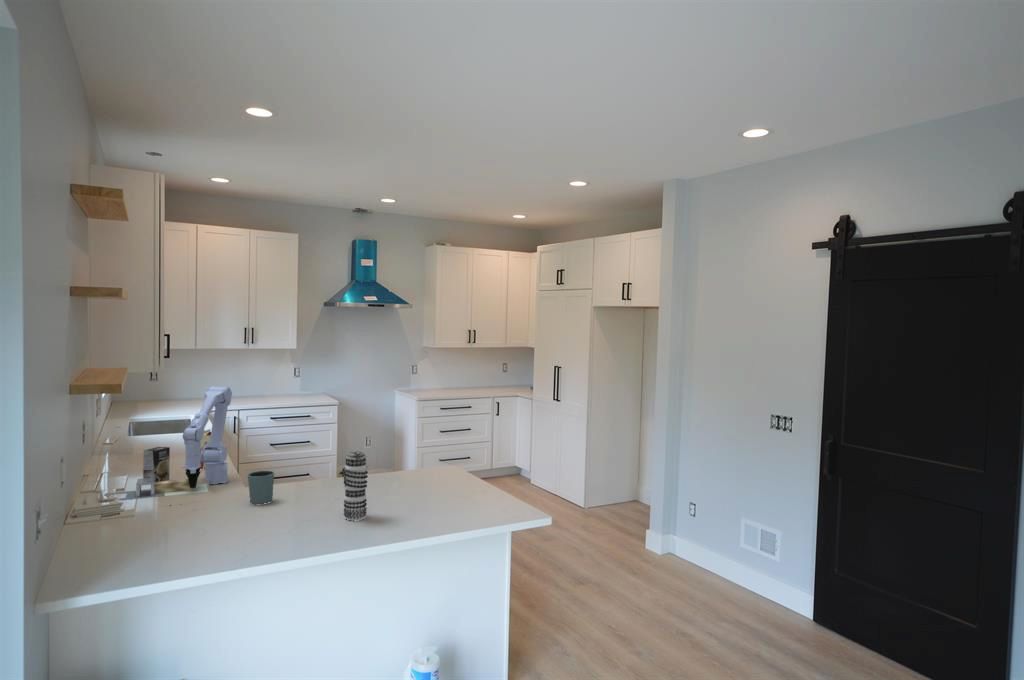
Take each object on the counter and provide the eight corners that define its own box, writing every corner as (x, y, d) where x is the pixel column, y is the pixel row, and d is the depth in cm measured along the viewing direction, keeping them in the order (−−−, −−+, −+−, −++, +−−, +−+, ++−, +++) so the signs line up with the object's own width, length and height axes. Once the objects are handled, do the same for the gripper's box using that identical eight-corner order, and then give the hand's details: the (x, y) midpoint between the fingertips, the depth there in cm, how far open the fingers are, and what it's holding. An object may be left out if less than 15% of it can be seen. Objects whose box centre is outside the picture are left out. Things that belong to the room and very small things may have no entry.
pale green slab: (206, 487, 273) (206, 483, 273) (207, 495, 260) (207, 491, 260) (105, 496, 255) (105, 493, 255) (100, 506, 242) (100, 502, 242)
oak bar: (193, 487, 266) (193, 478, 266) (193, 490, 262) (193, 480, 262) (153, 491, 259) (153, 482, 259) (153, 494, 255) (153, 484, 255)
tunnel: (155, 490, 261) (155, 477, 261) (154, 495, 253) (154, 482, 253) (137, 491, 258) (137, 478, 258) (136, 497, 250) (136, 483, 250)
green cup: (278, 502, 252) (278, 473, 252) (254, 507, 244) (254, 477, 244) (267, 497, 259) (267, 469, 258) (243, 502, 251) (243, 473, 251)
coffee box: (154, 487, 271) (155, 450, 271) (142, 486, 273) (142, 450, 272) (170, 481, 280) (170, 446, 280) (158, 481, 282) (158, 446, 281)
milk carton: (220, 467, 309) (221, 428, 309) (203, 471, 301) (203, 430, 301) (210, 465, 314) (210, 426, 313) (192, 468, 306) (193, 428, 306)
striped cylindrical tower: (340, 515, 236) (341, 451, 236) (365, 513, 240) (365, 449, 239) (344, 522, 228) (345, 456, 227) (369, 520, 232) (370, 454, 231)
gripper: (182, 452, 268) (182, 483, 268) (182, 459, 255) (182, 491, 256) (200, 451, 271) (200, 481, 272) (201, 457, 259) (201, 489, 259)
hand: (192, 486), depth 264 cm, fingers closed on oak bar, 4 cm apart
